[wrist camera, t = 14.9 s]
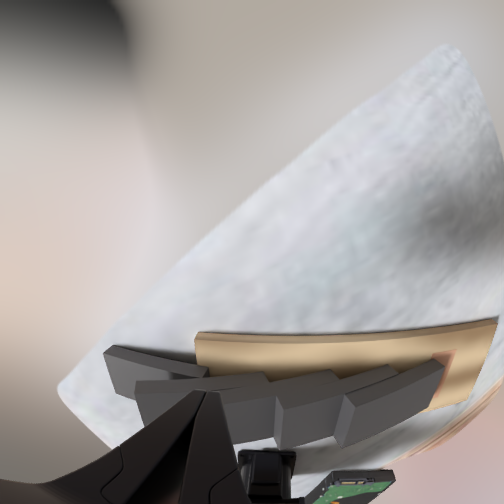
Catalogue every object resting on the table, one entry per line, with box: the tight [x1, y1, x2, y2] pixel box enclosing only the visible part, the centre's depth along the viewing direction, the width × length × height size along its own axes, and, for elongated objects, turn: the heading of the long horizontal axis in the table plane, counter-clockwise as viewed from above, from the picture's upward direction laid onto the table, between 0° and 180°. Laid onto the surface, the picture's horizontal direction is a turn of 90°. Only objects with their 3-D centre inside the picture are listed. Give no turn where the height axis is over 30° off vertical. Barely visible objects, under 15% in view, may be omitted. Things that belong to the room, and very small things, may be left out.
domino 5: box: [333, 359, 445, 448], centre depth 18 cm, size 2×5×10 cm
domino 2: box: [134, 371, 269, 427], centre depth 19 cm, size 2×5×10 cm
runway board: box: [194, 319, 498, 414], centre depth 21 cm, size 10×29×1 cm, turn 90°
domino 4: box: [274, 364, 399, 450], centre depth 19 cm, size 2×5×10 cm
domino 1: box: [103, 345, 210, 400], centre depth 22 cm, size 2×5×10 cm
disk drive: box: [304, 469, 396, 504], centre depth 26 cm, size 10×3×15 cm
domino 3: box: [217, 369, 340, 445], centre depth 19 cm, size 2×5×10 cm
